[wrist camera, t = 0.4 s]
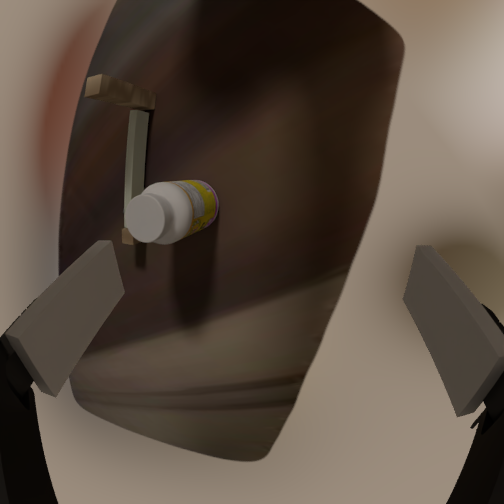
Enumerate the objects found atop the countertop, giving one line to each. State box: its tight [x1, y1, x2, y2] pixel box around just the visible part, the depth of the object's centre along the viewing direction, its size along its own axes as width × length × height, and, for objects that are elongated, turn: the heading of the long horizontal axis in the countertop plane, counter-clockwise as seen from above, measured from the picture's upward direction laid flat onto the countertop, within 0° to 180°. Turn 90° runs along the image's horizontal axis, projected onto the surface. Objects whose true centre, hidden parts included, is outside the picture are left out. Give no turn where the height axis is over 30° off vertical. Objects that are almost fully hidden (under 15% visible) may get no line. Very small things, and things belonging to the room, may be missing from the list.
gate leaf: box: [123, 110, 149, 228], centre depth 38 cm, size 16×2×3 cm, turn 174°
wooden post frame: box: [85, 74, 156, 245], centre depth 34 cm, size 22×2×12 cm, turn 174°
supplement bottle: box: [125, 180, 219, 244], centre depth 33 cm, size 7×7×13 cm
